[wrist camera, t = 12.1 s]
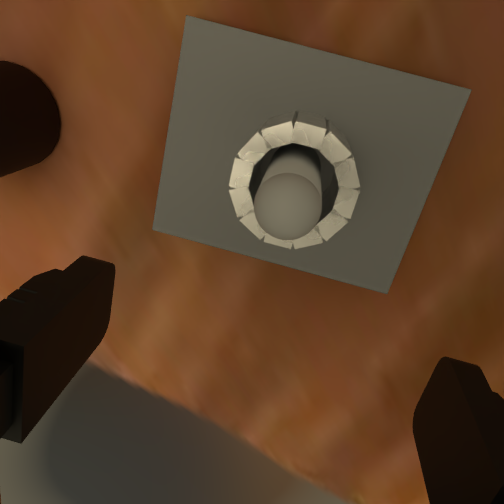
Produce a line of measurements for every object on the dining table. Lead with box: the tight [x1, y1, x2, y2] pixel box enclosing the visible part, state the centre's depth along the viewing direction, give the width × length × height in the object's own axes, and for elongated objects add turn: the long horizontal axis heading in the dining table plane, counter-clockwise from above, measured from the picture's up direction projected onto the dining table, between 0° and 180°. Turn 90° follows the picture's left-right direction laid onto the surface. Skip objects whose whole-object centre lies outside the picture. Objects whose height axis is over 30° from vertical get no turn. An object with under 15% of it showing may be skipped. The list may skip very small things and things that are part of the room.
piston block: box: [152, 15, 471, 294], centre depth 24 cm, size 16×13×12 cm
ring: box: [229, 110, 360, 249], centre depth 25 cm, size 6×6×5 cm
